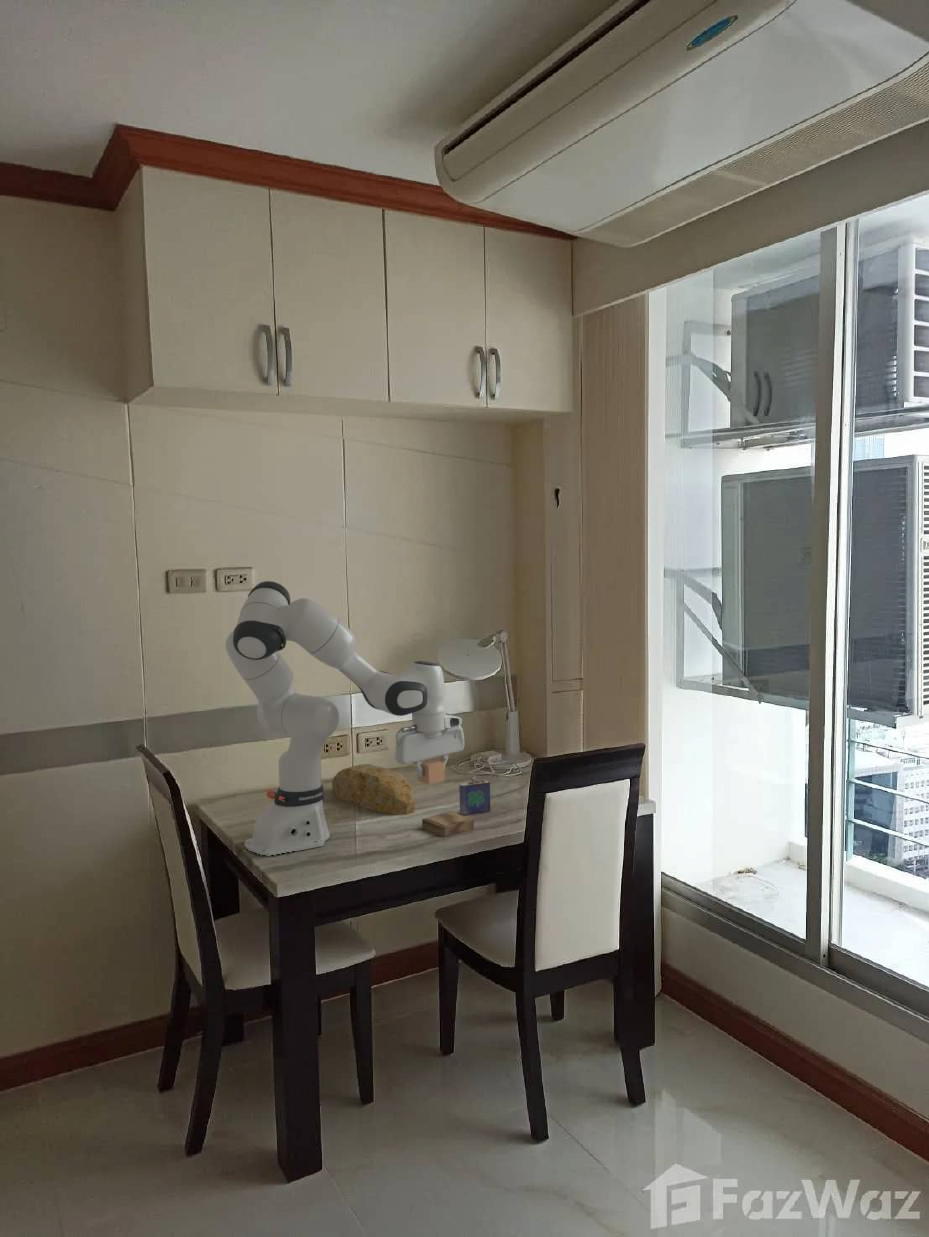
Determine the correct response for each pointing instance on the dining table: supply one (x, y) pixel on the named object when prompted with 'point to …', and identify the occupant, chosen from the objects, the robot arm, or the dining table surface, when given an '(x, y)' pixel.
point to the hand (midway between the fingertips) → (431, 773)
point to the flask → (474, 797)
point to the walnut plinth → (447, 823)
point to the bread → (375, 789)
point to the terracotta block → (432, 771)
